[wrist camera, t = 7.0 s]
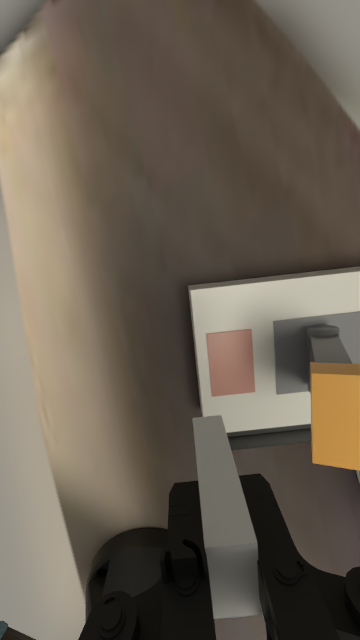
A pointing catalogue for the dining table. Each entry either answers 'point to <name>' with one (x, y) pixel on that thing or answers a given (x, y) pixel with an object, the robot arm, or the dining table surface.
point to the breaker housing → (267, 343)
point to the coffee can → (358, 475)
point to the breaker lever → (333, 399)
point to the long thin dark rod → (269, 436)
